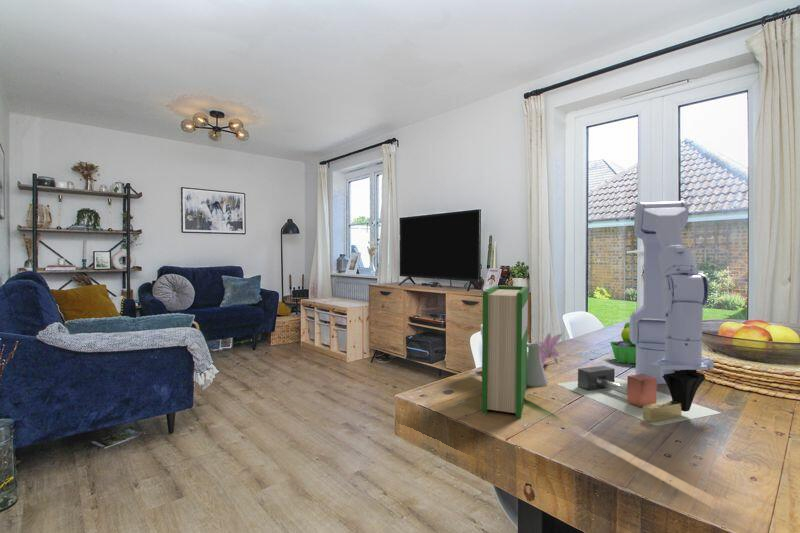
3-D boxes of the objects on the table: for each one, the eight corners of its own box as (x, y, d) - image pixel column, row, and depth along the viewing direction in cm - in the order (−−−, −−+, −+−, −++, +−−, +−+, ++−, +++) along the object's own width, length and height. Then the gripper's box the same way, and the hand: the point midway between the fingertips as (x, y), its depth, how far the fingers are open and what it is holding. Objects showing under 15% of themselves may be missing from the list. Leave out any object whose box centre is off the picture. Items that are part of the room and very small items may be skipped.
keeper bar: (673, 412, 77) (673, 400, 77) (681, 415, 75) (681, 403, 75) (642, 418, 74) (643, 405, 74) (650, 421, 72) (650, 408, 72)
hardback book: (520, 418, 77) (522, 293, 76) (481, 413, 79) (482, 291, 79) (526, 390, 93) (527, 286, 93) (494, 386, 96) (495, 285, 95)
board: (612, 380, 101) (612, 376, 101) (721, 418, 77) (721, 412, 77) (556, 388, 95) (556, 383, 95) (656, 431, 71) (656, 425, 71)
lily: (532, 362, 121) (519, 336, 119) (571, 350, 117) (559, 323, 115) (536, 387, 110) (522, 358, 108) (580, 374, 106) (566, 344, 104)
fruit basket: (614, 363, 117) (615, 324, 117) (608, 356, 125) (609, 320, 125) (659, 366, 114) (660, 327, 113) (650, 359, 122) (650, 322, 122)
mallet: (591, 380, 96) (592, 358, 96) (656, 404, 81) (656, 377, 81) (577, 382, 95) (577, 360, 95) (640, 406, 79) (640, 380, 79)
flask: (552, 392, 92) (552, 348, 92) (519, 390, 93) (519, 347, 93) (547, 382, 99) (547, 342, 99) (516, 380, 100) (517, 340, 100)
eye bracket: (603, 383, 95) (603, 365, 95) (614, 387, 92) (614, 369, 92) (577, 386, 92) (578, 368, 92) (587, 390, 90) (588, 372, 90)
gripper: (677, 345, 70) (675, 422, 70) (731, 339, 75) (730, 412, 75) (640, 337, 76) (639, 408, 77) (692, 332, 81) (691, 399, 82)
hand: (681, 409), depth 76 cm, fingers closed
